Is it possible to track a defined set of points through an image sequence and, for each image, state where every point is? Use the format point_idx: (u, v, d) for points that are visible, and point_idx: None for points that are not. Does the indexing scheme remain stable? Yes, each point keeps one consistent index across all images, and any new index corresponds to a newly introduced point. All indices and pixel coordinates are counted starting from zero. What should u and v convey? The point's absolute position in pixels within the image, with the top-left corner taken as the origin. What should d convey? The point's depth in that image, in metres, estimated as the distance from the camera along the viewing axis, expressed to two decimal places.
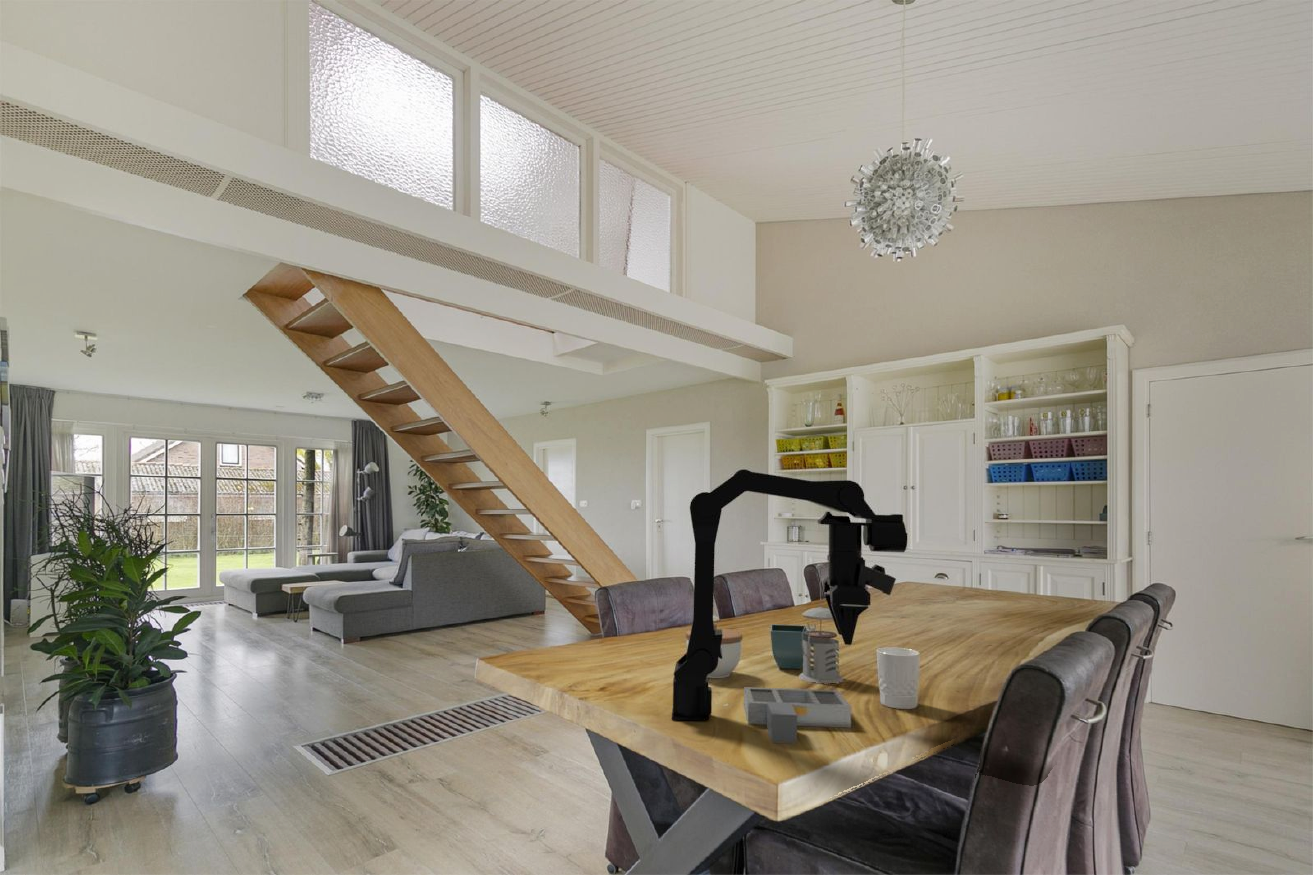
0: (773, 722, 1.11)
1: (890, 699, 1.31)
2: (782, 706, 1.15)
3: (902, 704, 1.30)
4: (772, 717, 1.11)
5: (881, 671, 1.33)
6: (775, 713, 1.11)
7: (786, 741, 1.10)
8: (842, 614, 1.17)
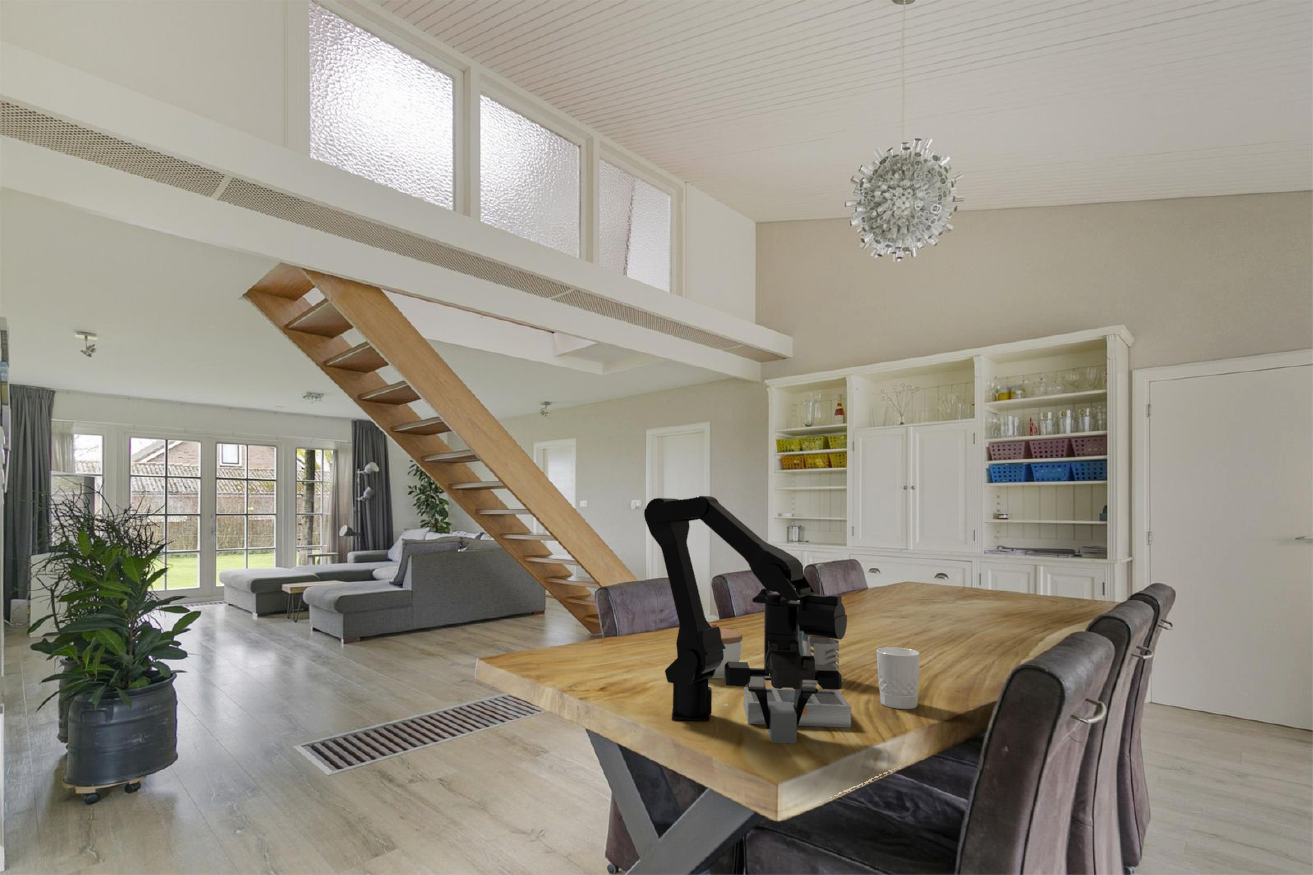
0: (773, 722, 1.11)
1: (890, 699, 1.31)
2: (782, 705, 1.15)
3: (902, 704, 1.30)
4: (772, 716, 1.11)
5: (881, 671, 1.33)
6: (775, 712, 1.11)
7: (786, 740, 1.10)
8: None
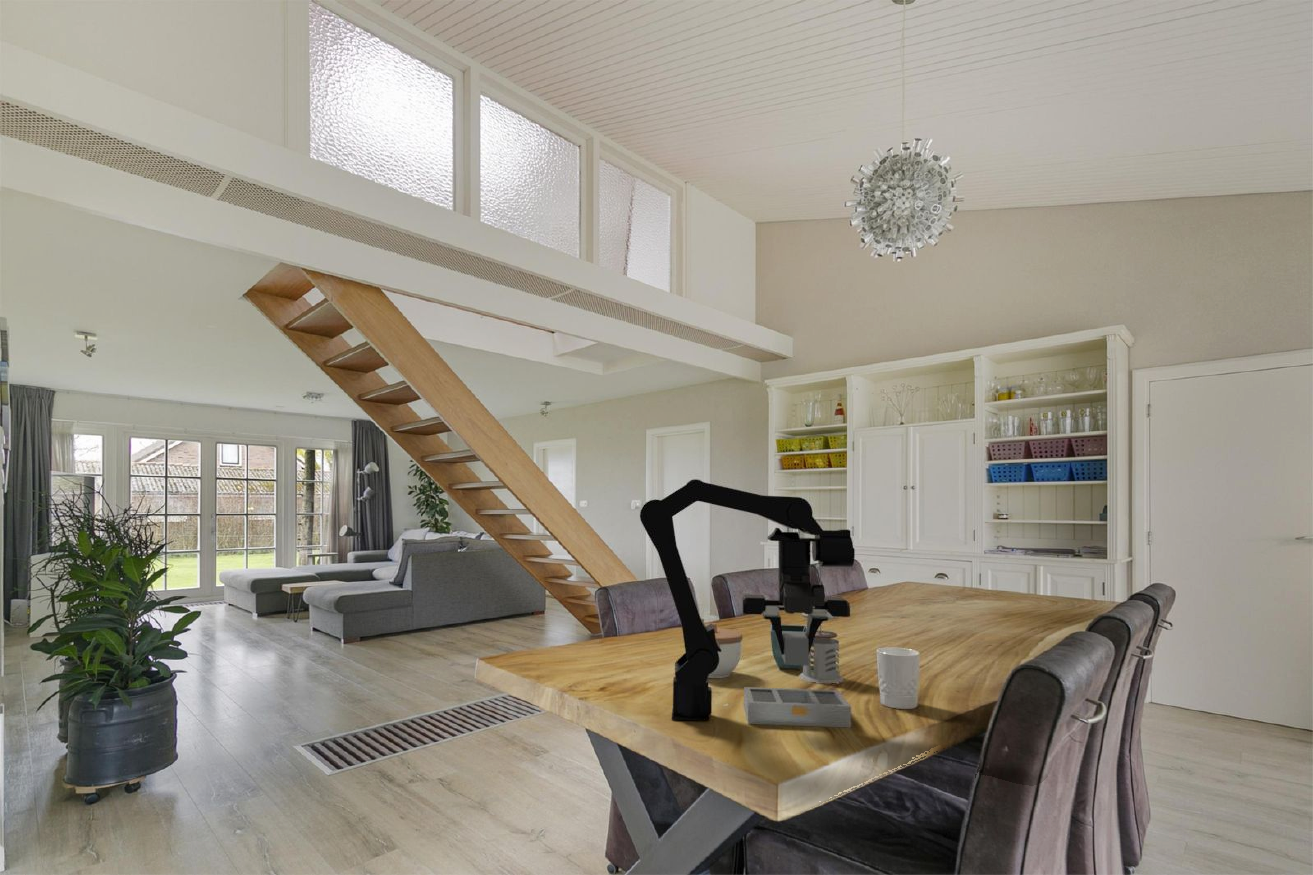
0: (787, 646, 1.21)
1: (890, 699, 1.31)
2: (795, 633, 1.25)
3: (902, 704, 1.30)
4: (786, 641, 1.21)
5: (881, 671, 1.33)
6: (788, 637, 1.21)
7: (799, 662, 1.20)
8: None
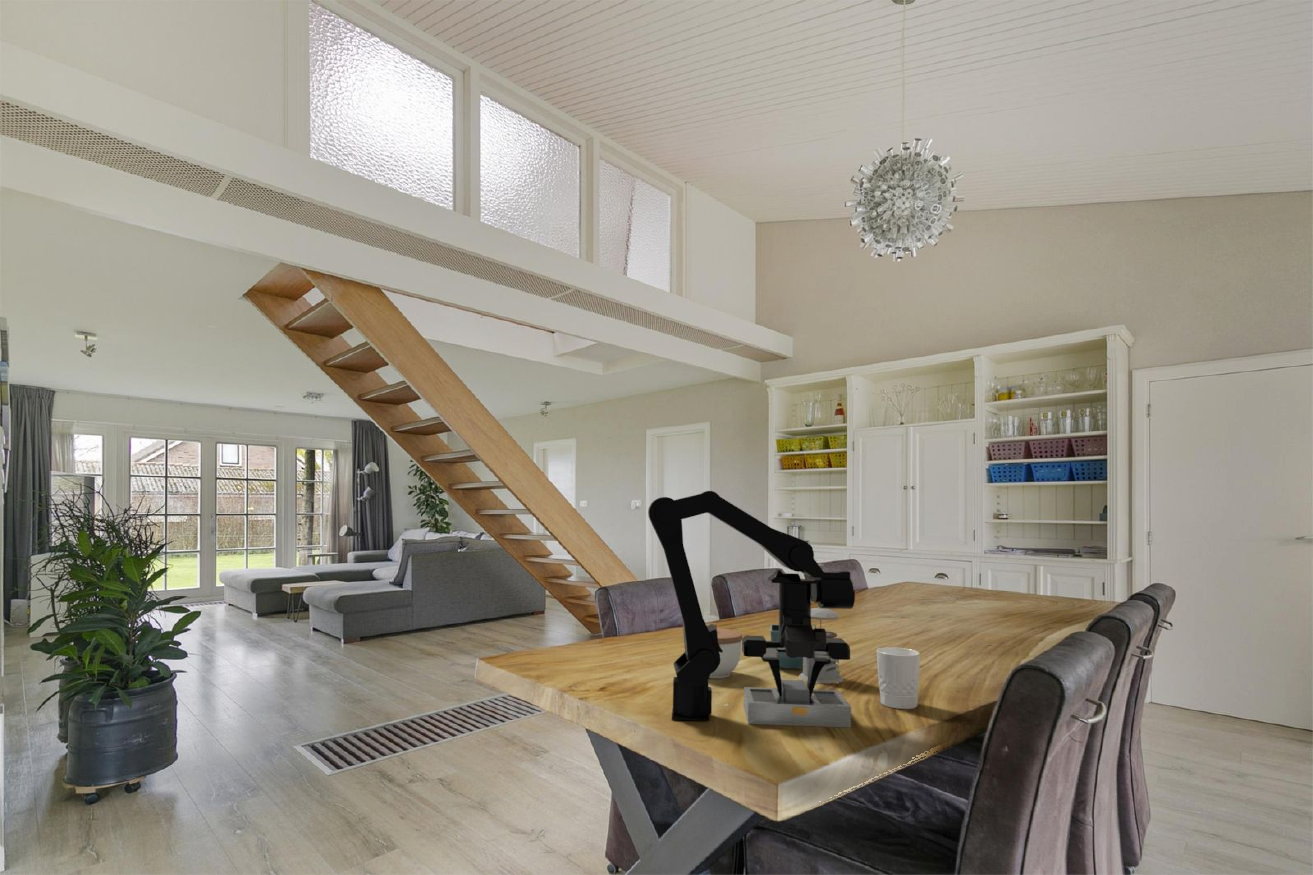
0: (788, 697, 1.21)
1: (890, 699, 1.31)
2: (795, 683, 1.26)
3: (902, 704, 1.30)
4: (787, 692, 1.21)
5: (881, 671, 1.33)
6: (789, 689, 1.22)
7: None
8: None
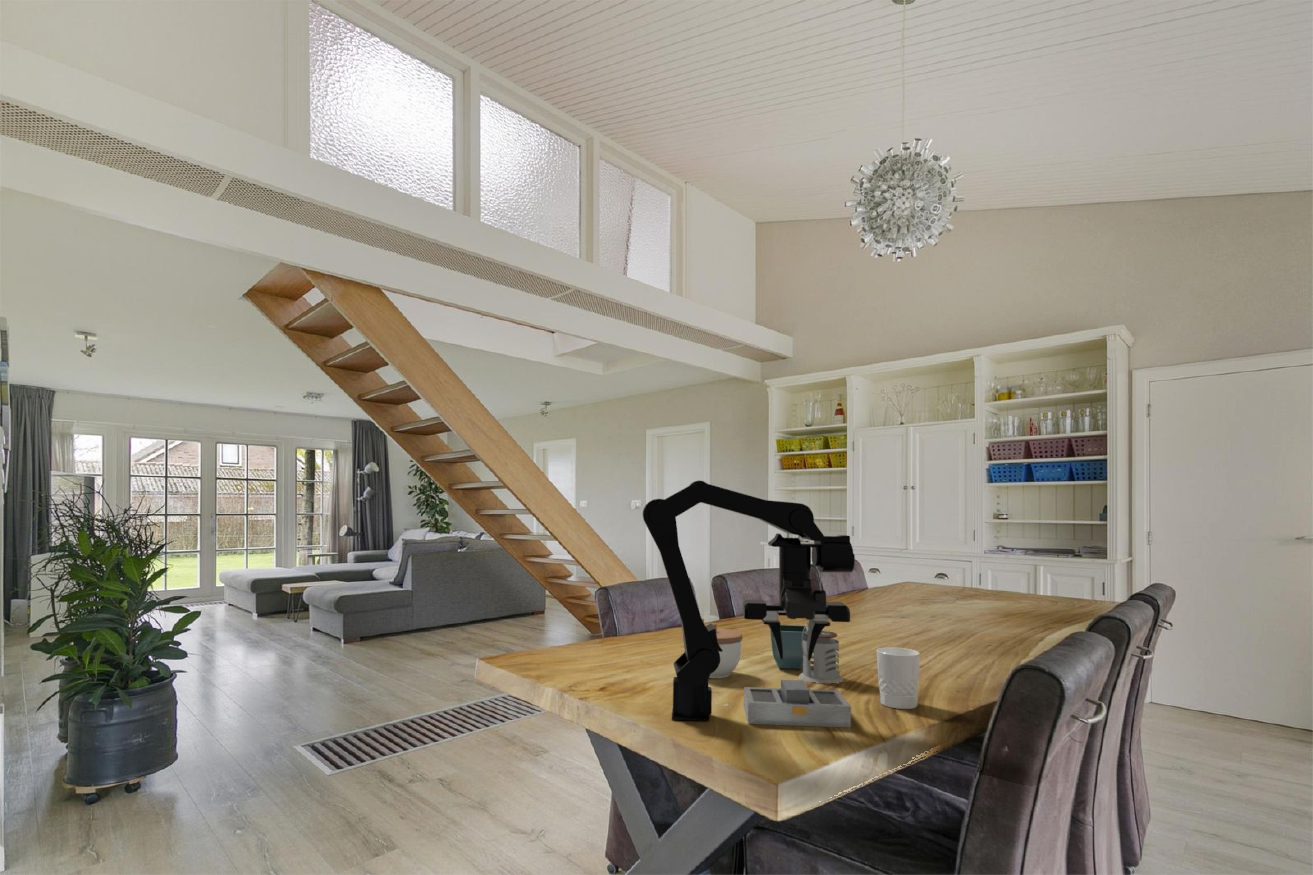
0: (788, 697, 1.21)
1: (890, 699, 1.31)
2: (795, 683, 1.26)
3: (902, 704, 1.30)
4: (787, 692, 1.21)
5: (881, 671, 1.33)
6: (789, 689, 1.22)
7: None
8: None
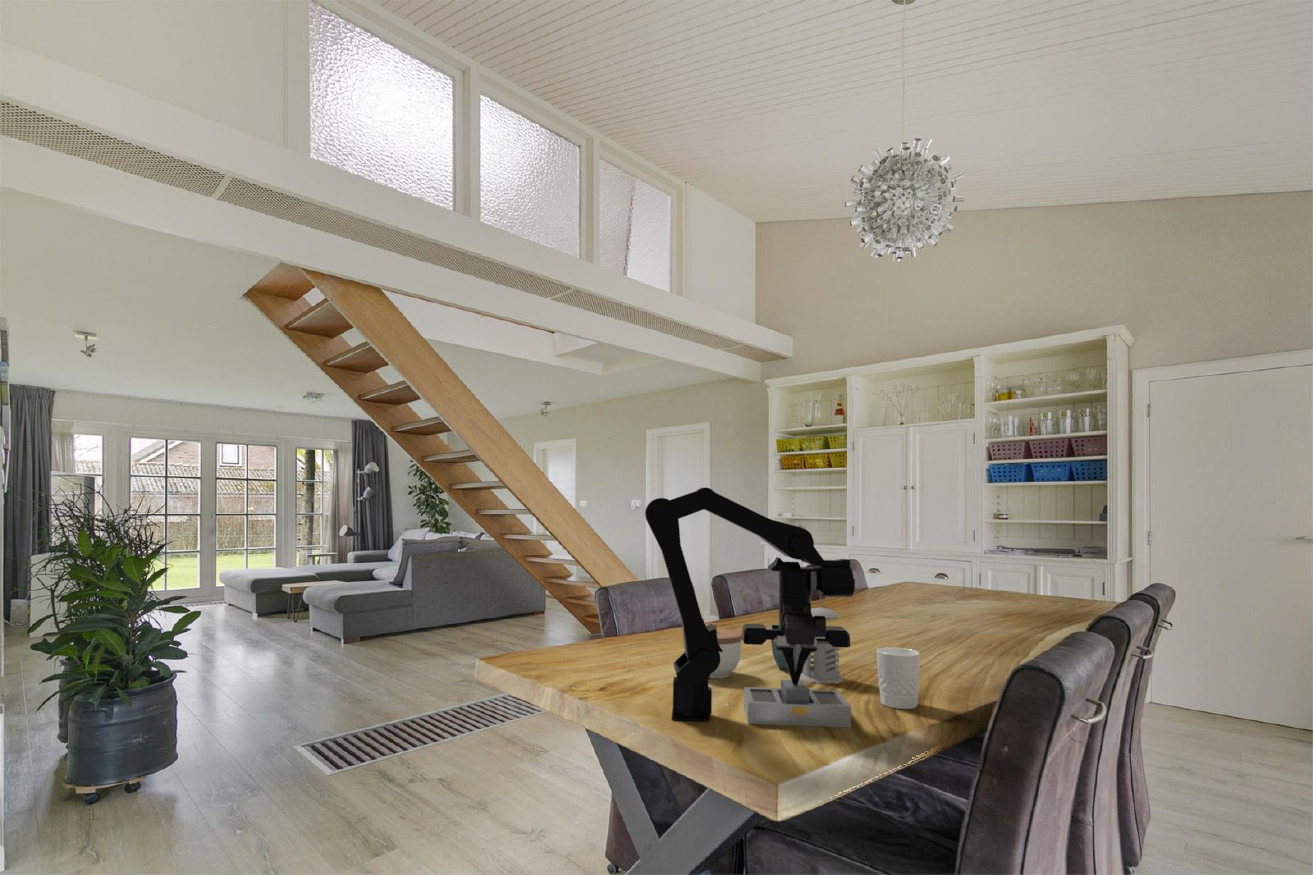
0: (788, 697, 1.21)
1: (890, 699, 1.31)
2: None
3: (902, 704, 1.30)
4: (787, 692, 1.21)
5: (881, 671, 1.33)
6: (789, 689, 1.22)
7: None
8: None
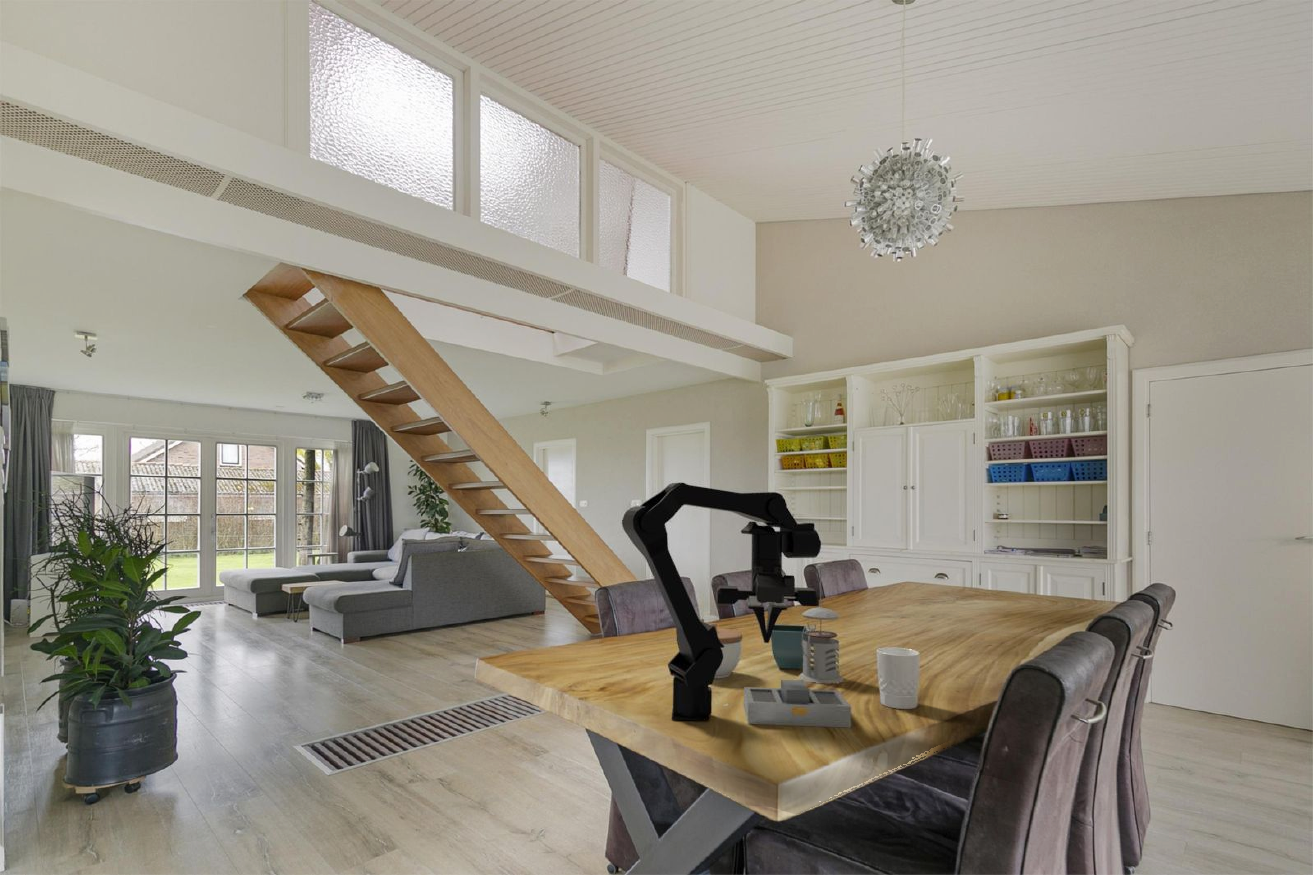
0: (788, 697, 1.21)
1: (890, 698, 1.31)
2: (795, 683, 1.26)
3: (902, 704, 1.30)
4: (787, 692, 1.21)
5: (881, 671, 1.33)
6: (789, 689, 1.22)
7: None
8: None
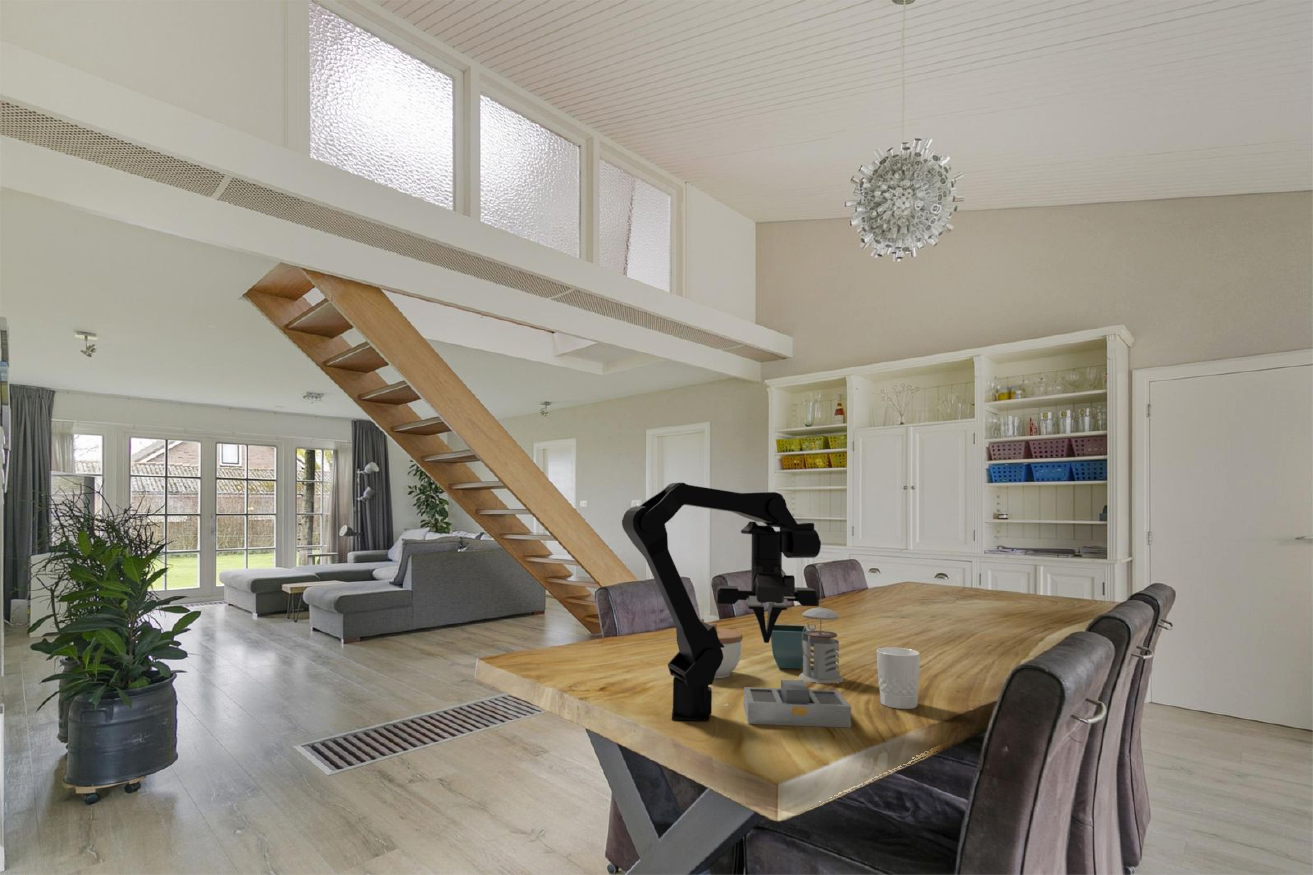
0: (788, 697, 1.21)
1: (890, 698, 1.31)
2: (795, 683, 1.26)
3: (902, 704, 1.30)
4: (787, 692, 1.21)
5: (881, 671, 1.33)
6: (789, 689, 1.22)
7: None
8: None
